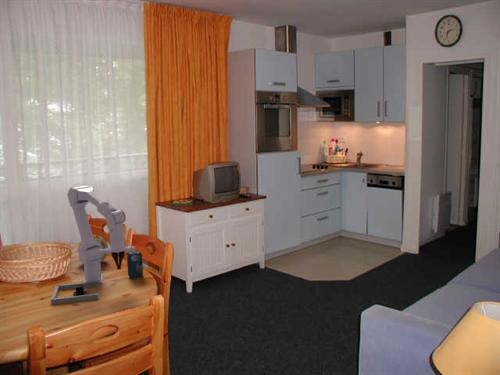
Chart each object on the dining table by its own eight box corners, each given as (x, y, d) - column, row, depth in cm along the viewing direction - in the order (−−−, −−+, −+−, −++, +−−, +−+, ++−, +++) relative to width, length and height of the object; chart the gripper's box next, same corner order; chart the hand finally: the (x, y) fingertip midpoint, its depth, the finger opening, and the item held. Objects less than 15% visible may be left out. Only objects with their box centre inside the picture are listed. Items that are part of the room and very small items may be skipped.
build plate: (88, 300, 202) (87, 290, 202) (69, 302, 200) (68, 292, 200) (89, 290, 214) (88, 279, 213) (72, 291, 212) (71, 281, 212)
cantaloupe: (79, 260, 255) (77, 232, 253) (108, 257, 259) (106, 230, 257) (78, 269, 241) (76, 239, 239) (109, 265, 245) (107, 236, 243)
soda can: (141, 279, 225) (139, 254, 223) (126, 279, 225) (124, 254, 223) (144, 274, 232) (143, 249, 230) (130, 274, 232) (128, 249, 230)
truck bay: (56, 289, 214) (56, 285, 214) (99, 284, 219) (99, 280, 218) (51, 304, 197) (50, 299, 197) (98, 299, 202) (97, 294, 202)
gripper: (99, 242, 203) (101, 273, 205) (134, 239, 207) (136, 269, 209) (99, 238, 210) (101, 268, 212) (134, 235, 214) (136, 264, 216)
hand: (119, 268), depth 211 cm, fingers closed
